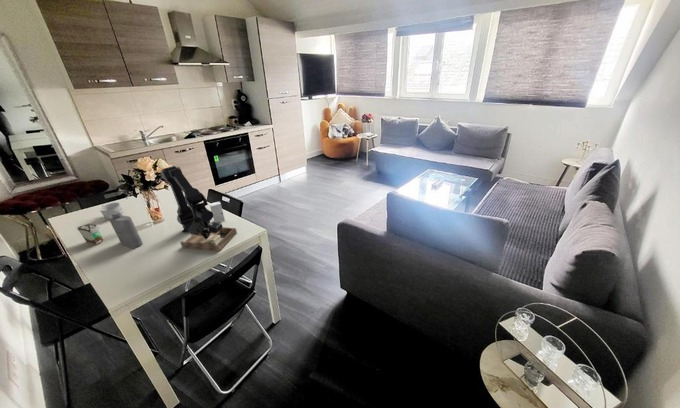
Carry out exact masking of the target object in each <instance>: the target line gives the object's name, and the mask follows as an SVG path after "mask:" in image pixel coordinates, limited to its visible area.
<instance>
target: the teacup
mask: <svg viewBox="0 0 680 408" xmlns="http://www.w3.org/2000/svg"><path fill="white" fill-rule="evenodd" d="M99 212H100V213H101V215H102V216H103V217H104V218H105V219H108V216H109V215H111V214H113V213H115V212H120V214H121V215H122V214H123V212H124V210H123V208H122V206H121V203H120V202H117V201H116V202H111V203H107V204H102V205H101V207H100V208H99Z"/></svg>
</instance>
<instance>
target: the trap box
mask: <svg viewBox="0 0 680 408" xmlns="http://www.w3.org/2000/svg"><path fill="white" fill-rule="evenodd" d="M212 234H213V235H220V237H221V240H220V241H219V242H218V244H207V241H206V239H205V238H204V237H203V236H202V234H199V235H191V236H190V237H189V238H187V239H186V240H185V241H183V240H181V241H180V246H181V248H183V249H192V250H193V249H194V250H202V251H203V250H204V251H213V252H222V250H223V249H224V248H225V247H226V246H227V245H228V244H229V243H230V242H231V241H232V240H233V238H234V237H235V236H236V235H237V234H238V231H237V228H236V227H235V228H234V227H224V226H222V228H221V229H220V230H219V231H218V232H217V233H211V232H210V236H211V235H212ZM210 236H209V237H210Z"/></svg>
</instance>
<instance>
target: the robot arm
mask: <svg viewBox="0 0 680 408" xmlns="http://www.w3.org/2000/svg"><path fill="white" fill-rule="evenodd" d="M161 169H162V170H161V171H160V175H161V177H162V179H164V181H166V182H167V183H168V184H169V185H170V188H171V190H172V194H173V196H174V199H175V202H176V204H177V211H176V213H177V217H176V220H177V222H178V224H180V225H182V228H183V229H182V231H181V232H183V233H189V235H191V236H192V235H199V234H202V236H203V237H204V238H205V239H207V238H209V236H210V232H211V233H217V232H218V231H219V230H220V229H221V228H222V227H223V224H222V223H221V222H218V223H215V222H214V223H211V221H212V219H214V218H213V213H212V211H211V210H210V209H208V208H207V207H206V206H208V205H209V204H208V200H207V199H206V197H205V196H204V194H203V193H202V192H200V191H199V189H198V188H195V187H193V185H192V184H191V183H190V182H189V180H188V179H187V178H186V177H185V175H184V174H183V171H182V169H181V167H180V166H177V167H176V166H175V165H172V166H169V167H165V168H161Z"/></svg>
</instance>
